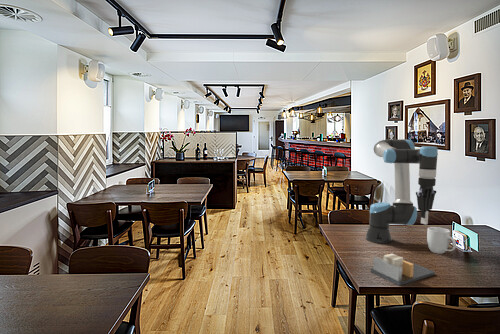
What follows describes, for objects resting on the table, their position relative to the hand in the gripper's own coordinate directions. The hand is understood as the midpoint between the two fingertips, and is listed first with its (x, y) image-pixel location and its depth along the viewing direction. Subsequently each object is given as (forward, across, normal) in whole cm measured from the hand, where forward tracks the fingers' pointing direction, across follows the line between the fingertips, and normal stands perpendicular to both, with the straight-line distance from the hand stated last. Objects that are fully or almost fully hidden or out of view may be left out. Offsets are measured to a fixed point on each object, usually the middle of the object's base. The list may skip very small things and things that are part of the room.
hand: (424, 223), depth 162 cm
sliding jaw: (+20, +21, +2) cm, 29 cm away
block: (+20, +25, +2) cm, 32 cm away
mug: (+22, -25, -7) cm, 34 cm away
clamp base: (+22, +18, +2) cm, 28 cm away
